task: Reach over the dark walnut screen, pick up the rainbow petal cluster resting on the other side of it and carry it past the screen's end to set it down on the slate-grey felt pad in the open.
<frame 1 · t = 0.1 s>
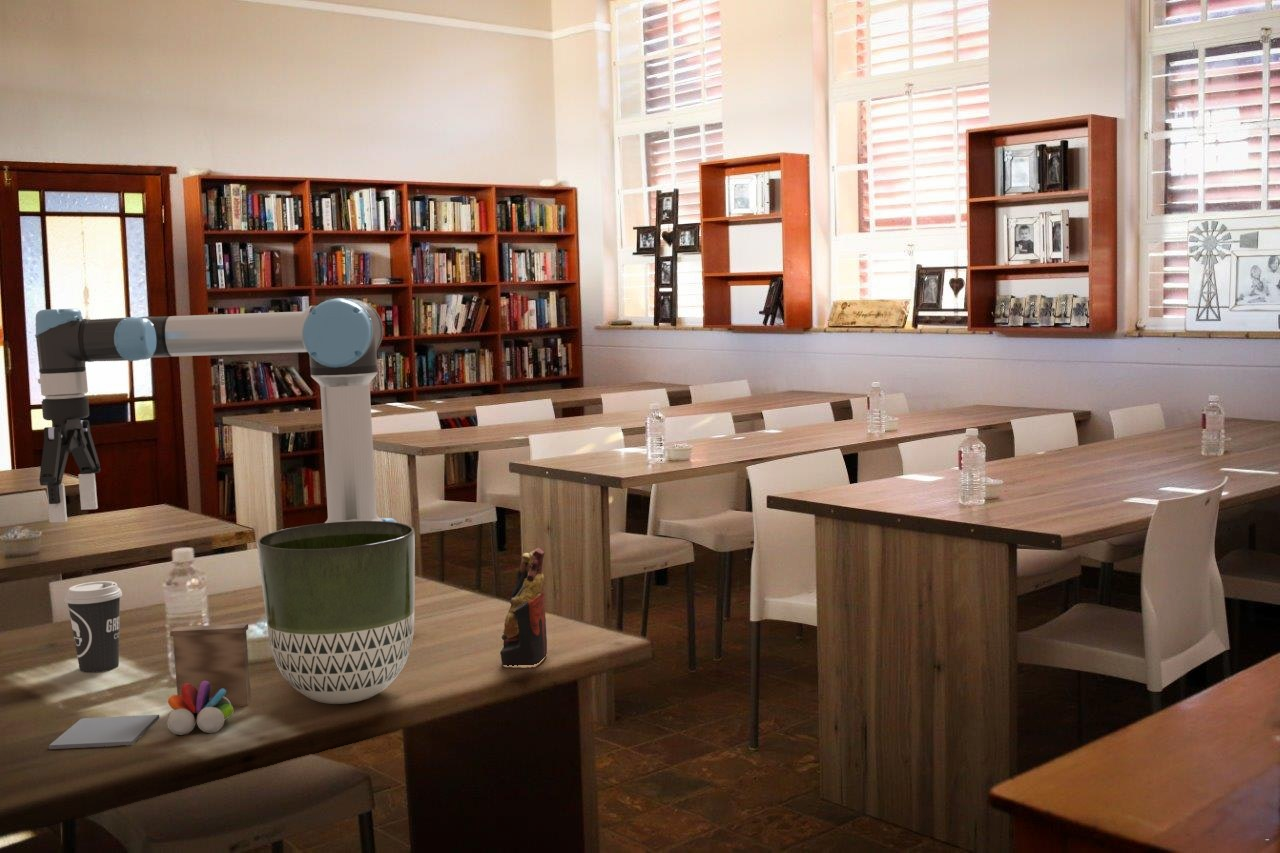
hand: (74, 515, 224), 28 cm above the table, fingers open, 13 cm apart
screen: (214, 705, 203), on the table
pad: (106, 733, 191), on the table
coffee cup: (99, 668, 227), on the table
statue: (523, 663, 221), on the table
planter: (346, 699, 204), on the table
rainbow petal cluster: (201, 728, 192), on the table
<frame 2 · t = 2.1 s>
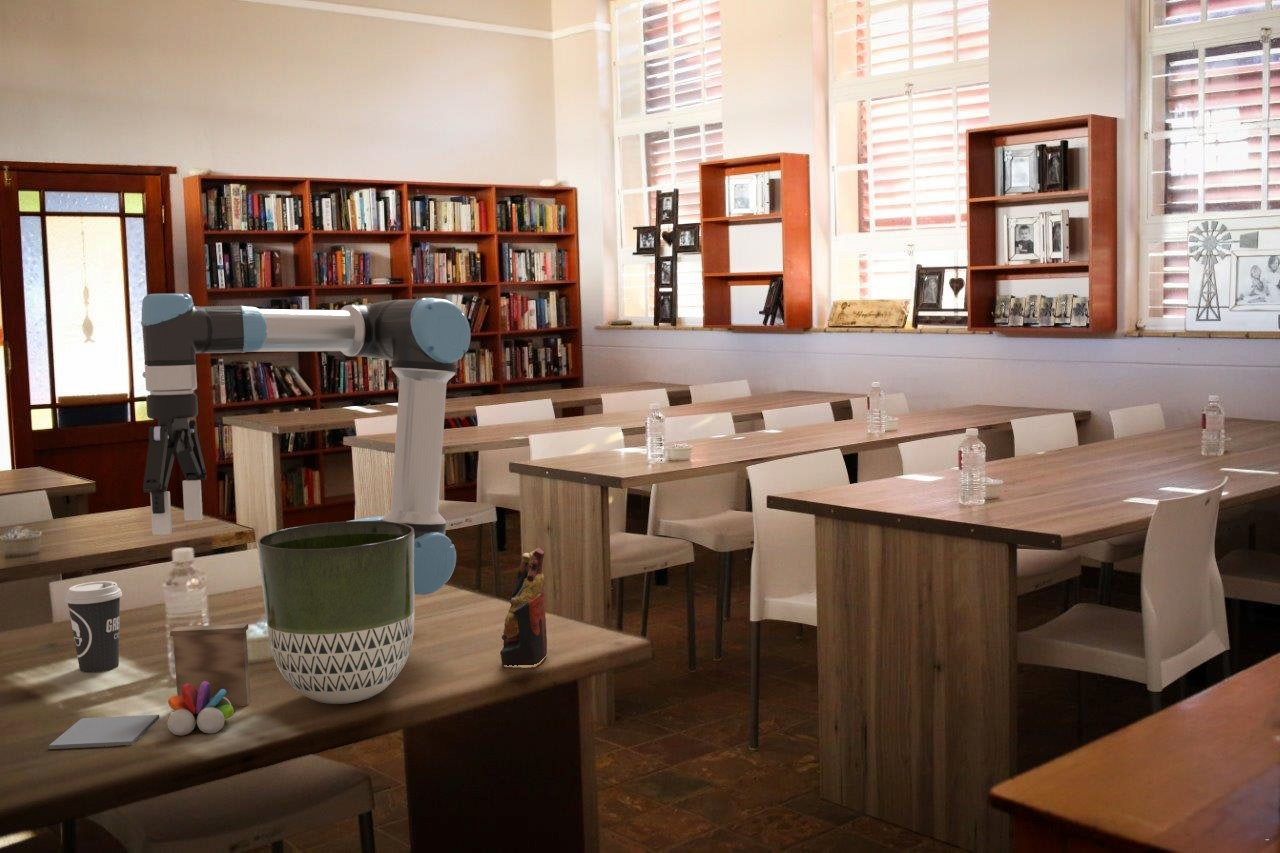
hand: (178, 527, 198), 30 cm above the table, fingers open, 13 cm apart
nothing on the table moved.
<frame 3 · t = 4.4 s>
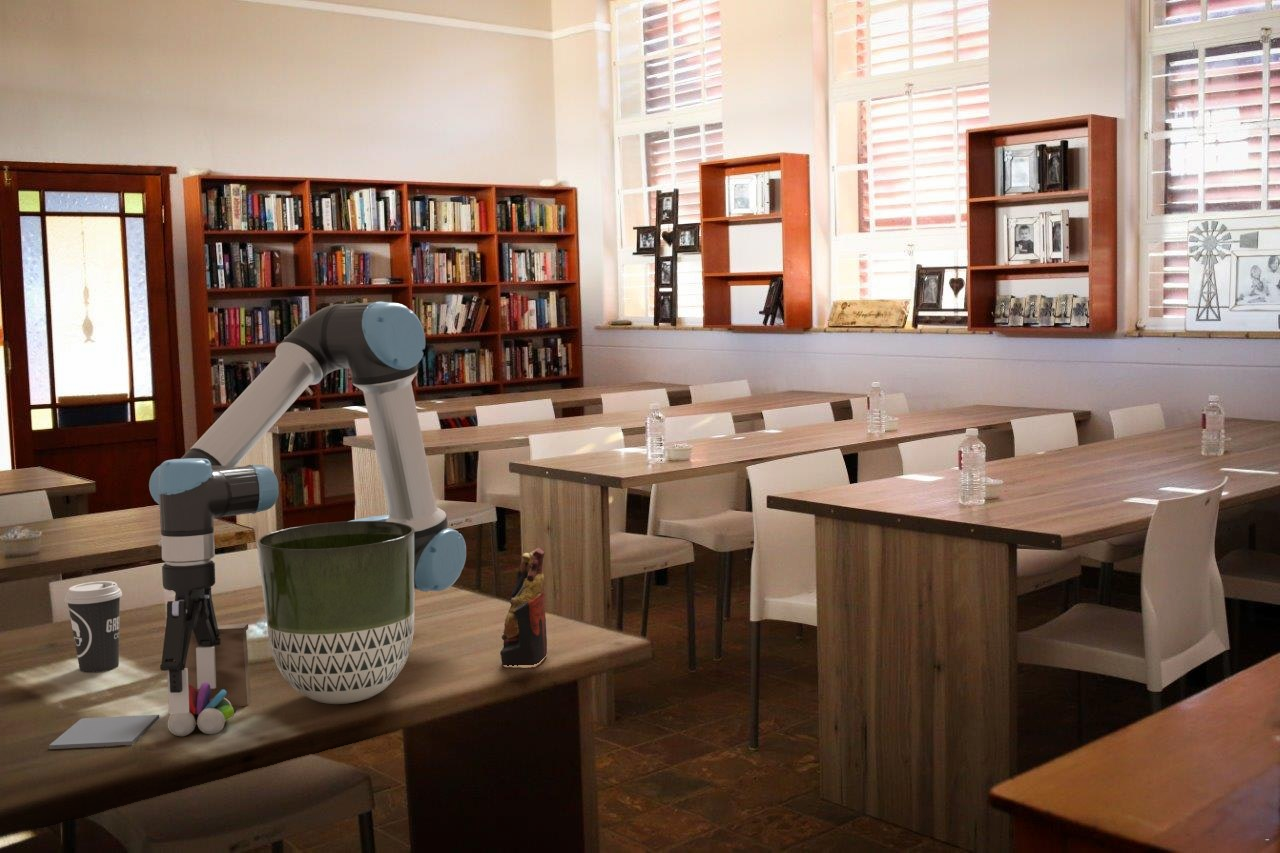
hand: (193, 700, 191), 5 cm above the table, fingers open, 13 cm apart
nothing on the table moved.
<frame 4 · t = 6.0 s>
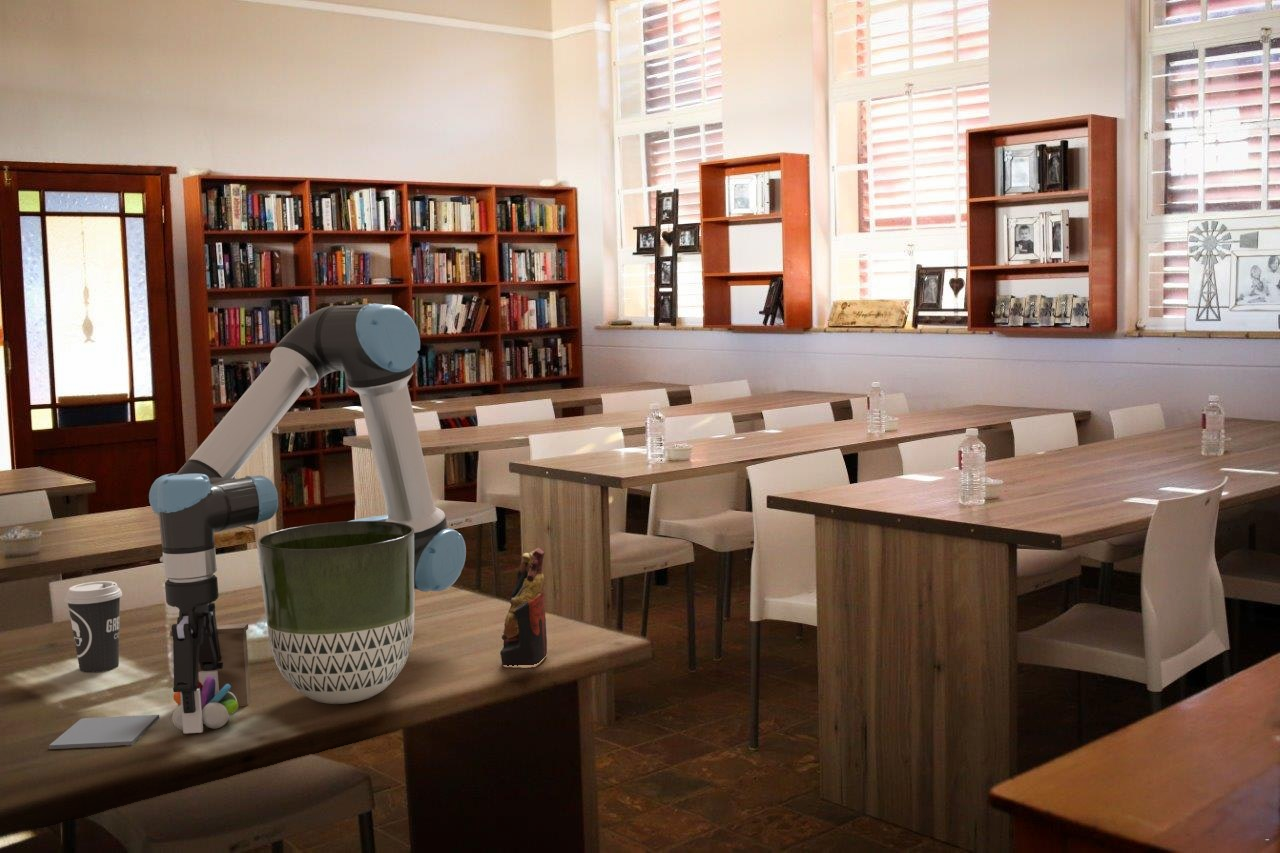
hand: (202, 721, 192), 1 cm above the table, fingers closed on rainbow petal cluster, 8 cm apart
rainbow petal cluster: (207, 724, 193), on the table, touching gripper
everything else where it was.
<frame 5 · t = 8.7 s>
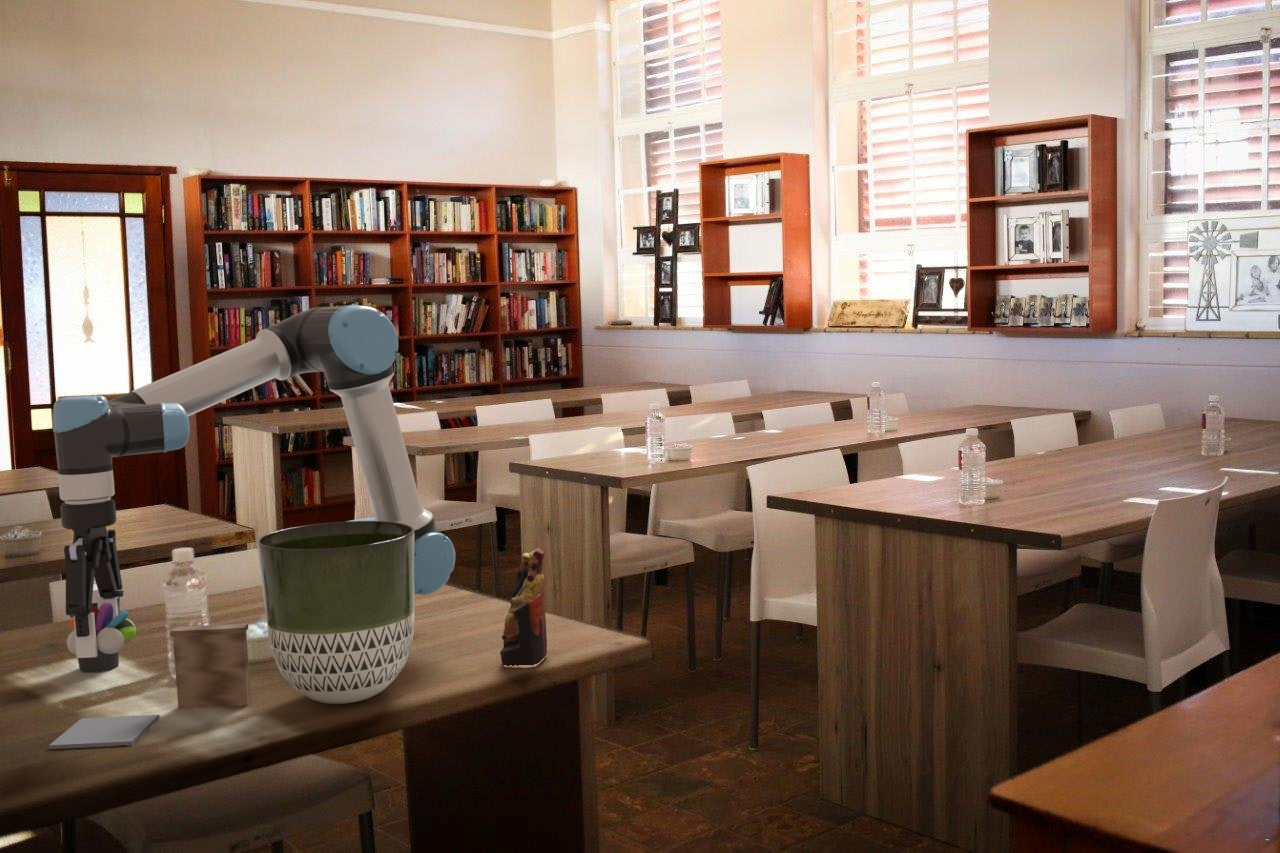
hand: (99, 648, 189), 13 cm above the table, fingers closed on rainbow petal cluster, 8 cm apart
rainbow petal cluster: (103, 650, 189), point 13 cm above the table, touching gripper
everything else where it was.
when the fingers open (2 cm above the table, at t = 11.1 s): rainbow petal cluster stays where it is, resting on pad.
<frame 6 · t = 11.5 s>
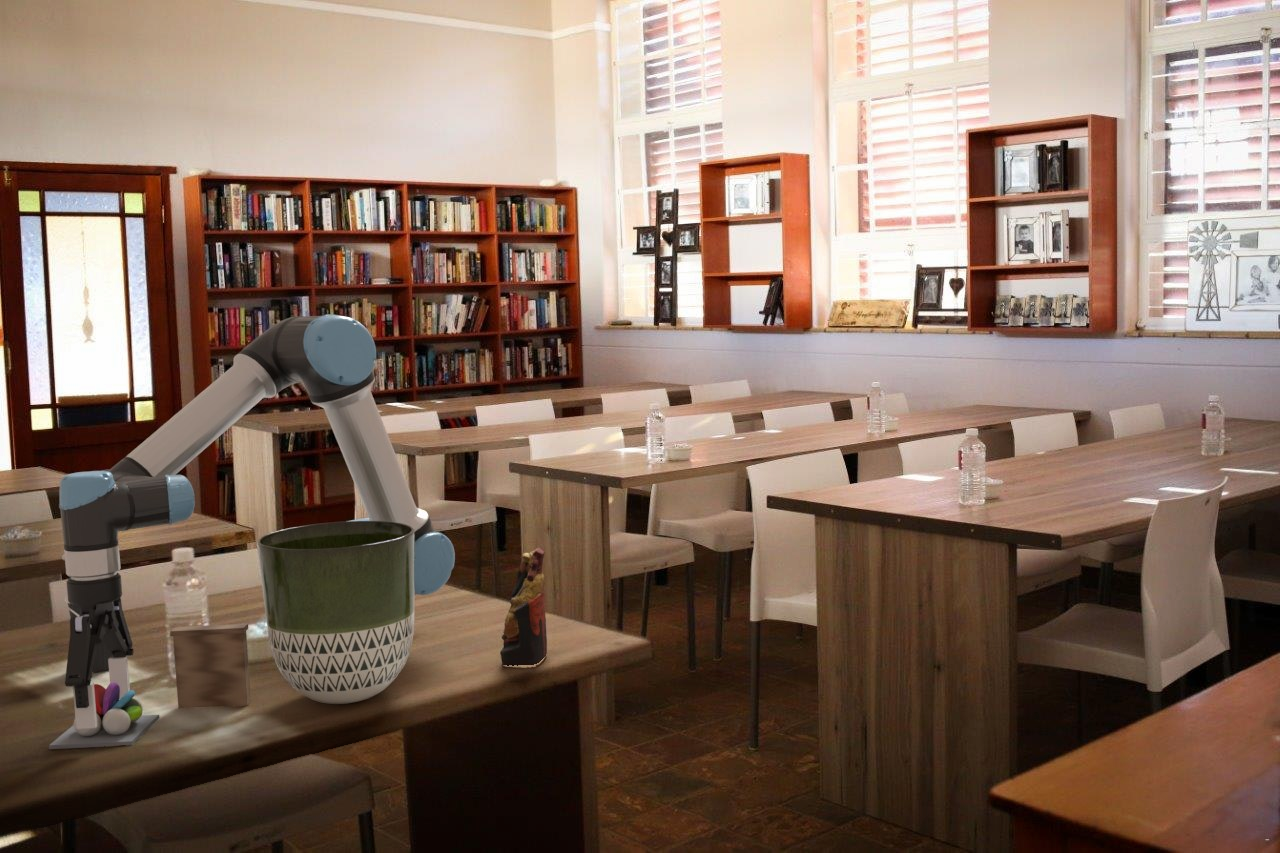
hand: (104, 712, 190), 3 cm above the table, fingers open, 13 cm apart
rainbow petal cluster: (110, 730, 191), resting on pad
everything else where it was.
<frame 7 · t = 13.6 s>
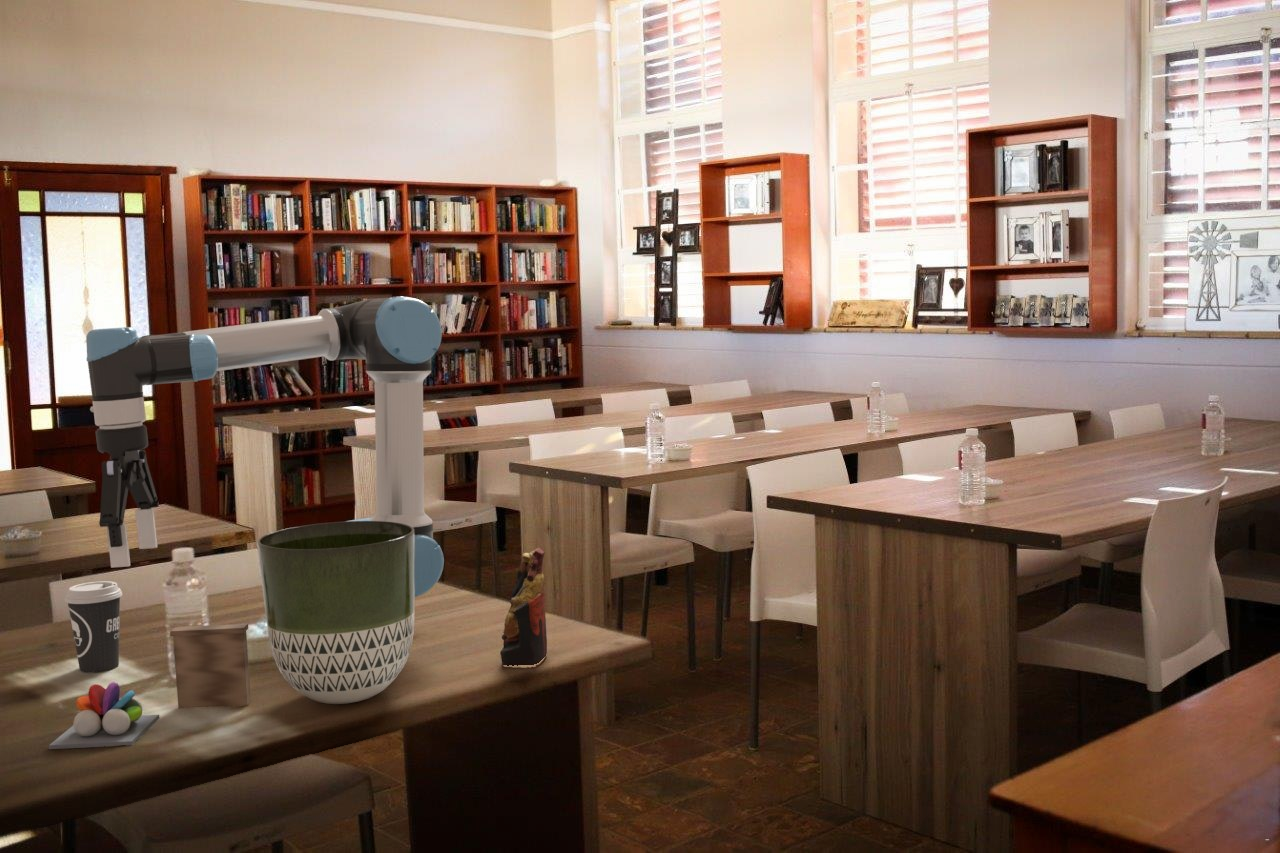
hand: (135, 557, 201), 25 cm above the table, fingers open, 13 cm apart
nothing on the table moved.
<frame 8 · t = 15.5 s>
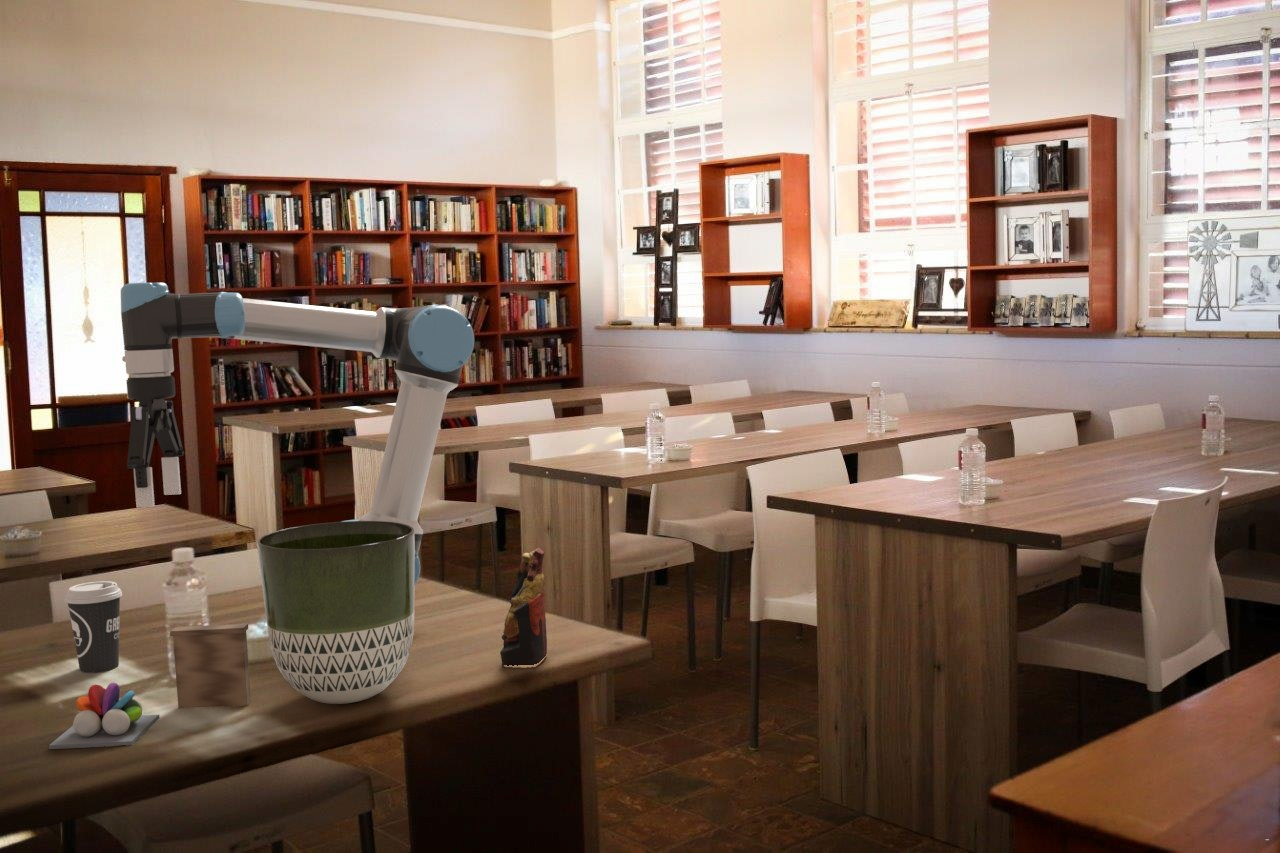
hand: (159, 500, 213), 32 cm above the table, fingers open, 13 cm apart
nothing on the table moved.
at the end: rainbow petal cluster inside the target area on the pad (0.7 cm from its centre), point 0.4 cm above the pad's base; rainbow petal cluster tilted 0°; the gripper is holding nothing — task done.
